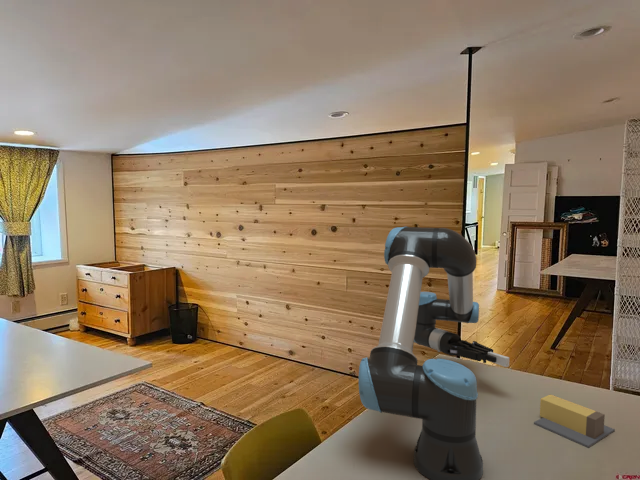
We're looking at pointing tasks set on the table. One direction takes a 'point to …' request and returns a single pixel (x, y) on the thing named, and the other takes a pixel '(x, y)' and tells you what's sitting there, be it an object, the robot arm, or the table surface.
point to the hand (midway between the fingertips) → (507, 362)
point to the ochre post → (572, 416)
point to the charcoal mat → (572, 432)
